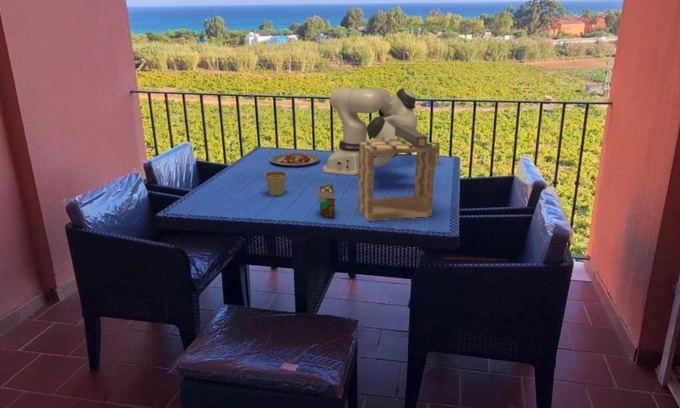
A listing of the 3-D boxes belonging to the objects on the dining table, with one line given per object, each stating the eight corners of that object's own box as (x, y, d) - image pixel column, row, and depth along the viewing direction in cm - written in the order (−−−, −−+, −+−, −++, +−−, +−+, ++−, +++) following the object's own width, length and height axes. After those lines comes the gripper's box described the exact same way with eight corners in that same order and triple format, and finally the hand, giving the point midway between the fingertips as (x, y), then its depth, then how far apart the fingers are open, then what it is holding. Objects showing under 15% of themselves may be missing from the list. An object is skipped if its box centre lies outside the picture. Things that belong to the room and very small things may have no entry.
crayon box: (436, 163, 263) (438, 141, 259) (438, 165, 260) (440, 142, 256) (422, 164, 262) (424, 141, 258) (424, 165, 259) (426, 143, 255)
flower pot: (291, 191, 217) (290, 172, 215) (281, 198, 209) (281, 178, 206) (271, 189, 220) (270, 170, 218) (261, 196, 212) (260, 175, 209)
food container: (316, 208, 198) (316, 183, 194) (332, 208, 198) (332, 183, 195) (317, 220, 186) (317, 193, 183) (335, 219, 186) (335, 193, 183)
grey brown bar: (394, 135, 201) (395, 124, 199) (404, 134, 201) (405, 124, 200) (416, 148, 178) (417, 137, 177) (427, 148, 179) (428, 136, 178)
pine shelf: (358, 208, 197) (359, 138, 188) (417, 204, 202) (421, 135, 193) (368, 221, 184) (369, 146, 176) (431, 217, 189) (436, 143, 180)
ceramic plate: (275, 155, 279) (275, 150, 278) (323, 157, 277) (323, 151, 276) (264, 168, 255) (264, 162, 254) (316, 169, 253) (316, 163, 252)
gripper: (409, 154, 222) (420, 144, 208) (363, 157, 218) (371, 147, 205) (407, 140, 223) (418, 129, 210) (361, 143, 219) (369, 132, 206)
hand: (394, 138), depth 207 cm, fingers open, 8 cm apart
